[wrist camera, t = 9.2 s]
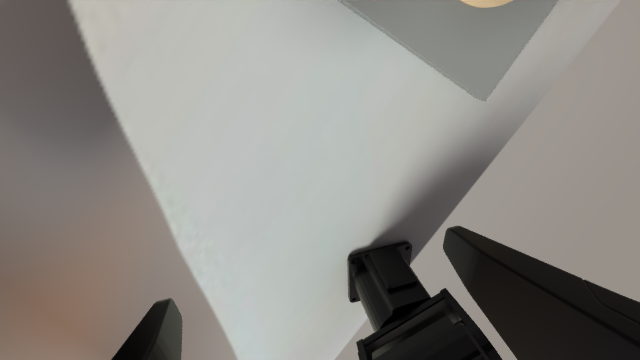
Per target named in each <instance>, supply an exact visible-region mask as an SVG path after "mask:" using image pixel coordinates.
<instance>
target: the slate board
mask: <svg viewBox="0 0 640 360" xmlns="http://www.w3.org/2000/svg"><path fill="white" fill-rule="evenodd" d="M339 1H340V2H341V3H343V4H344V5H346V6H347V7H348V8H350V9H351V10H353V11H354V12H355V13H357V14H358V15H360V16H361V17H362V18H364V19H365V20H367V21H368V22H370V23H371V24H372V25H374V26H375V27H377V28H378V29H379V30H381V31H382V32H384V33H385V34H386V35H388V36H389V37H391V38H392V39H393V40H395V41H396V42H398V43H399V44H400V45H402V46H403V47H405V48H406V49H408V50H409V51H410V52H412V53H413V54H415V55H416V56H417V57H419V58H420V59H422V60H423V61H424V62H426V63H427V64H429V65H430V66H431V67H433V68H434V69H436V70H437V71H438V72H440V73H441V74H443V75H444V76H445V77H447V78H448V79H450V80H451V81H453V82H454V83H455V84H457V85H458V86H460V87H461V88H462V89H464V90H465V91H467V92H468V93H469V94H471V95H472V96H474V97H475V98H477V99H480V100H483V101H486V100H487V98H488V97H489V96H490V94H491V93H492V91H493V90H494V89H495V87H496V86H497V85H498V83H499V82H500V80H501V79H502V78H503V76H504V75H505V73H506V72H507V71H508V69H509V68H510V67H511V65H512V64H513V62H514V61H515V60H516V58H517V57H518V56H519V54H520V53H521V51H522V50H523V49H524V47H525V46H526V45H527V43H528V42H529V40H530V39H531V38H532V36H533V35H534V34H535V32H536V31H537V29H538V28H539V27H540V25H541V24H542V22H543V21H544V20H545V18H546V17H547V16H548V14H549V13H550V11H551V10H552V9H553V7H554V6H555V5H556V3H557V2H558V0H339Z"/></svg>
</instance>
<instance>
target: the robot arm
mask: <svg viewBox="0 0 640 360" xmlns="http://www.w3.org/2000/svg"><path fill="white" fill-rule="evenodd" d="M443 249H444V252H445V253H446V255H447V257H448V259H449V260H450V262H451V264H452V265H453V267H454V269H455V270H456V272H457V274H458V276H459V277H460V279H461V281H462V282H463V284H464V286H465V287H466V289H467V290H468V292H469V293H470V295H471V296H472V298H473V299H474V300H475V302H476V303H477V305H478V306H479V307H480V309H481V310H482V311H483V313H484V314H485V315H486V317H487V318H488V320H489V321H490V322H491V324H492V325H493V326H494V328H495V329H496V331H497V332H498V333H499V335H500V336H501V337H502V339H503V340H504V342H505V343H506V344H507V346H508V347H509V348H510V350H511V351H512V352H513V354H514V355H515V357H516V358H517V360H640V302H638V301H635V300H632V299H630V298H627V297H625V296H622V295H620V294H618V293H615V292H613V291H610V290H608V289H606V288H603V287H601V286H598V285H596V284H593V283H591V282H589V281H587V280H583V279H582V278H580V277H577V276H575V275H572V274H570V273H568V272H566V271H563V270H561V269H559V268H556V267H554V266H552V265H549V264H547V263H544V262H542V261H540V260H538V259H535V258H533V257H531V256H529V255H526V254H524V253H522V252H519V251H517V250H515V249H512V248H510V247H508V246H505V245H503V244H501V243H498V242H496V241H494V240H491V239H489V238H487V237H484V236H482V235H480V234H477V233H475V232H473V231H470V230H468V229H466V228H463V227H461V226H454V227H450V228H448V229H447V230H446V233H445V238H444V243H443ZM411 251H412V245H411V244H410V243H409V242H408V241H406V242H402V243H398V244H394V245H390V246H386V247H382V248H378V249H374V250H370V251H366V252H362V253H358V254H354V255H351V256H350V257H349V258H348V260H347V261H348V297H349V300H350V302H352V303H353V302H357V301H361V303H362V305H363V307H364V309H365V312H366V314H367V316H368V318H369V320H370V323H371V325H372V327H373V330H374V333H373V334H371V335H370V336H368V337H366V338H365V339H361V340H359V341H357V342H356V343H357V347H358V351H359V352H358V356H359V360H502V358H501V357H500V355H499V354H498V353H497V351H496V350H495V348H494V347H493V346H492V344H491V343H490V341H489V340H488V339H487V337H486V336H485V335H484V334H483V332H482V331H481V330H480V328H479V327H478V326H477V325H476V324H475V322H474V321H473V320H472V319H471V318H470V316H469V315H468V314H467V313H466V312H465V311H464V309H463V308H462V307H461V306H460V305H459V303H458V302H457V301H456V300H455V299H454V298H453V296H452V295H451V294H450V293H449V292H448V290H447V289H446V288H444V289H443V290H441V291H440V293H438V294H437V295H435V296H434V297H432V298H431V297H430V295H429V294H428V292H427V291H426V290H425V288H424V287H423V285H422V284H421V282H420V281H419V279H418V278H417V276H416V275H415V273H414V272H413V270H412V269H411V267H410V258H411ZM181 348H182V316H181V314H180V312H179V310H178V308H177V306H176V304H175V302H174V301H173V299H171V298H169V299H164V300H160V301H157V302H156V303H154V304H153V306H152V307H151V308H150V310H149V311H148V312H147V314H146V315H145V316H144V317H143V319H142V320H141V322H140V323H139V324H138V325H137V327H136V328H135V329H134V331H133V332H132V333H131V335H130V336H129V337H128V338H127V340H126V341H125V343H124V344H123V345H122V346H121V348H120V349H119V350H118V352H117V353H116V354H115V355H114V357H113V358H112V359H111V360H181V350H182V349H181Z"/></svg>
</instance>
